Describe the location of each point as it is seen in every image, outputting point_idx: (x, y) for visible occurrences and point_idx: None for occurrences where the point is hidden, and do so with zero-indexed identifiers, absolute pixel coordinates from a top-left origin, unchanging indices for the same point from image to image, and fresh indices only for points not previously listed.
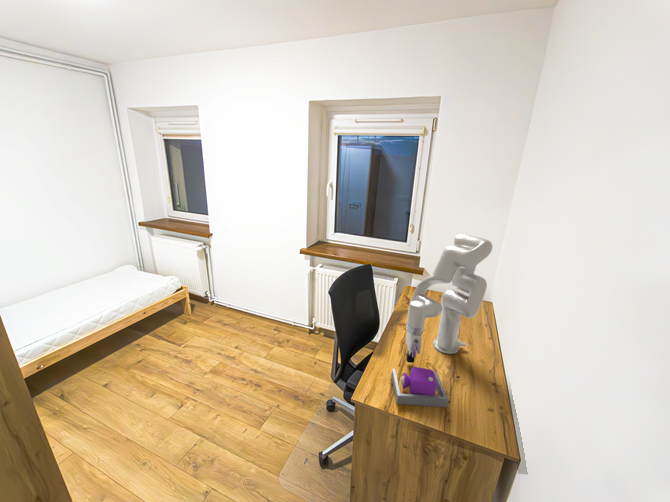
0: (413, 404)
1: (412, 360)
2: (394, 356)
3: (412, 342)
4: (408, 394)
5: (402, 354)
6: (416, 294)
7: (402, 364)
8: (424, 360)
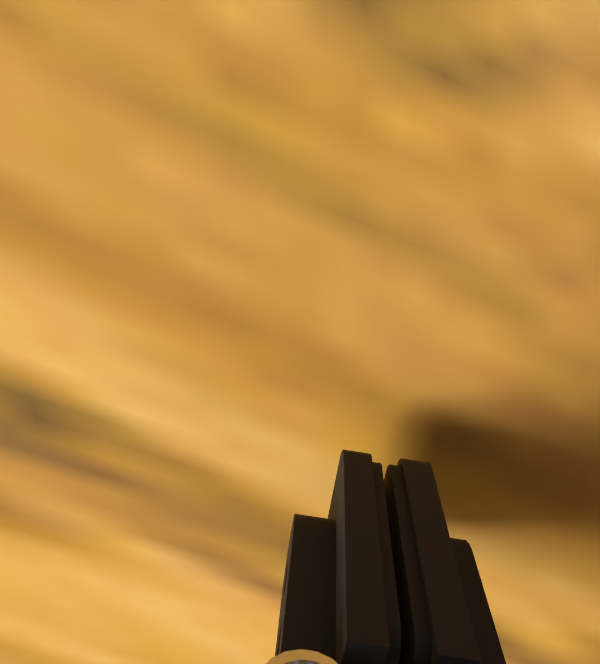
0: None
1: (472, 576)
2: (134, 629)
3: None
4: None
5: (55, 491)
6: None
7: None
8: (241, 46)
